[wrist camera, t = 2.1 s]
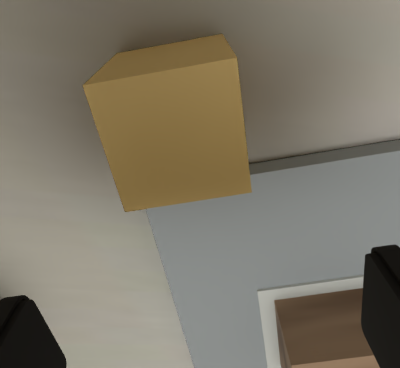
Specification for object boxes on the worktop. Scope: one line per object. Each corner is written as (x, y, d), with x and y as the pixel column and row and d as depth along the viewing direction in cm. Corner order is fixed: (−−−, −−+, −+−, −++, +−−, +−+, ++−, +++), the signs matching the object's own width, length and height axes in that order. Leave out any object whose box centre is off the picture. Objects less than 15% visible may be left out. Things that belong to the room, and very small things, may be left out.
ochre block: (117, 53, 16) (82, 85, 11) (222, 33, 16) (237, 57, 11) (143, 149, 19) (125, 212, 14) (234, 133, 19) (251, 192, 13)
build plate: (143, 181, 20) (140, 194, 19) (414, 136, 19) (430, 147, 18) (198, 368, 29) (199, 385, 27) (384, 344, 28) (393, 361, 26)
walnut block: (274, 300, 23) (291, 365, 19) (383, 285, 22) (423, 349, 18) (280, 363, 26) (295, 430, 22) (374, 351, 26) (407, 417, 22)
